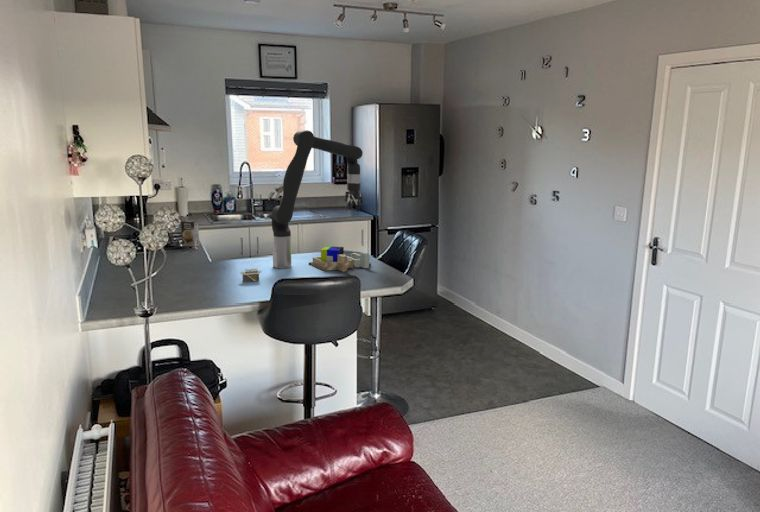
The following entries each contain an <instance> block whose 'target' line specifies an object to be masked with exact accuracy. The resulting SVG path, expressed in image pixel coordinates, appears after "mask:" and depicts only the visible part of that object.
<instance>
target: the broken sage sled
mask: <svg viewBox="0 0 760 512" xmlns="http://www.w3.org/2000/svg"><path fill="white" fill-rule="evenodd" d="M344 255H345V256H347V258H348V259H351V260H353V265H354V268H359V267H361V268H363V269H368V268H370V266H369V263H370V258H369V257H370V254H369V253H368V252H365V251H360V252H359V253H356V252H352V253H351V252H350V256H348V255H346V254H345V253H344Z"/></svg>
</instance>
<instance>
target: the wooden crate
mask: <svg viewBox="0 0 760 512" xmlns="http://www.w3.org/2000/svg"><path fill="white" fill-rule="evenodd" d="M261 273H262V271H261V270H258V267H257V268H245V269H244V271H240V272H239V274H240V275H242V282H244V283H245V282H257V281H260V274H261Z"/></svg>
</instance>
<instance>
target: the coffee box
mask: <svg viewBox="0 0 760 512" xmlns="http://www.w3.org/2000/svg"><path fill="white" fill-rule="evenodd" d="M180 226H181V227H180V228H181V229H180V230H181V246H182V247H197V246H200V232H199V231H200V230H199V220H190V219H189V220H188V219H186V220H181V221H180Z"/></svg>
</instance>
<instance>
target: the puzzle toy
mask: <svg viewBox="0 0 760 512" xmlns="http://www.w3.org/2000/svg"><path fill="white" fill-rule="evenodd" d="M344 250H345V249H344V246H334V245H333V246H329V245H328V246H327V245H326V246H324V247H323V248H321V249H320V257H321V260H322V261H324V262H326V263H329V262H338V255H340V254H342V255H344V254H345V253H344V252H345V251H344Z"/></svg>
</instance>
